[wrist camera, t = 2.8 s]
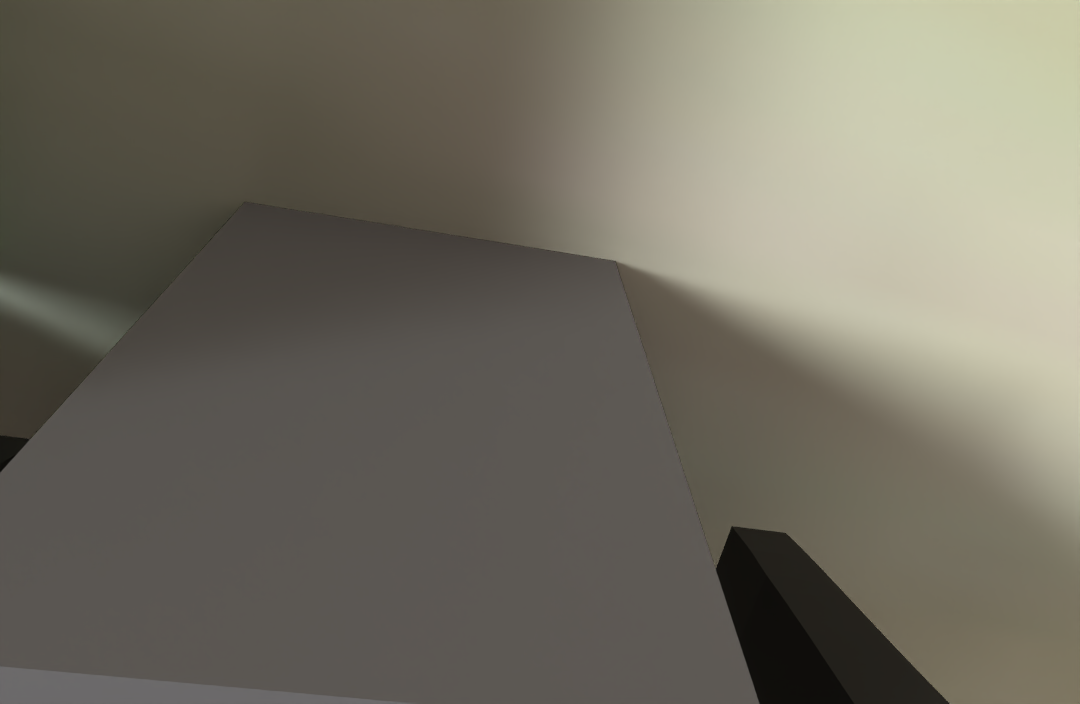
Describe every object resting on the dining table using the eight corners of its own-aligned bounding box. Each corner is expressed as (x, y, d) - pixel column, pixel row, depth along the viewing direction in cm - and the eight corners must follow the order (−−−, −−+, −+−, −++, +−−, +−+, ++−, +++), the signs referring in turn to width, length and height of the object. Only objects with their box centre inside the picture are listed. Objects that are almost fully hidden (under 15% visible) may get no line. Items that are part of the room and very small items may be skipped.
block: (522, 641, 12) (538, 1228, 7) (239, 613, 11) (9, 1220, 6) (614, 259, 9) (769, 736, 4) (245, 201, 9) (-163, 653, 3)
